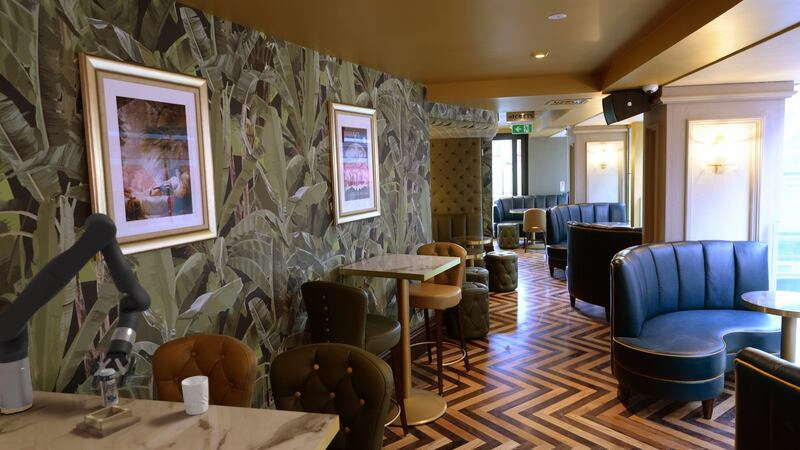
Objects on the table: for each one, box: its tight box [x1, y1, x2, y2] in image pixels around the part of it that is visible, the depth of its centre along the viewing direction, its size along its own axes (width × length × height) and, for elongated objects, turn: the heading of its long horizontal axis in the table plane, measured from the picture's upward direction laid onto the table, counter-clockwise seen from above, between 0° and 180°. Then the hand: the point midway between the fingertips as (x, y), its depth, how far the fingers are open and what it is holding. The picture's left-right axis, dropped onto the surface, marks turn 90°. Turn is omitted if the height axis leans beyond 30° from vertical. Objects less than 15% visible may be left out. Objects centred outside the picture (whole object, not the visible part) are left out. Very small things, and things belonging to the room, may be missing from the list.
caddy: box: [75, 404, 142, 438], centre depth 168 cm, size 14×12×4 cm
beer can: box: [99, 368, 119, 408], centre depth 183 cm, size 5×5×12 cm
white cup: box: [181, 375, 209, 416], centre depth 175 cm, size 8×8×10 cm
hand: (107, 387), depth 182 cm, fingers open, 8 cm apart
